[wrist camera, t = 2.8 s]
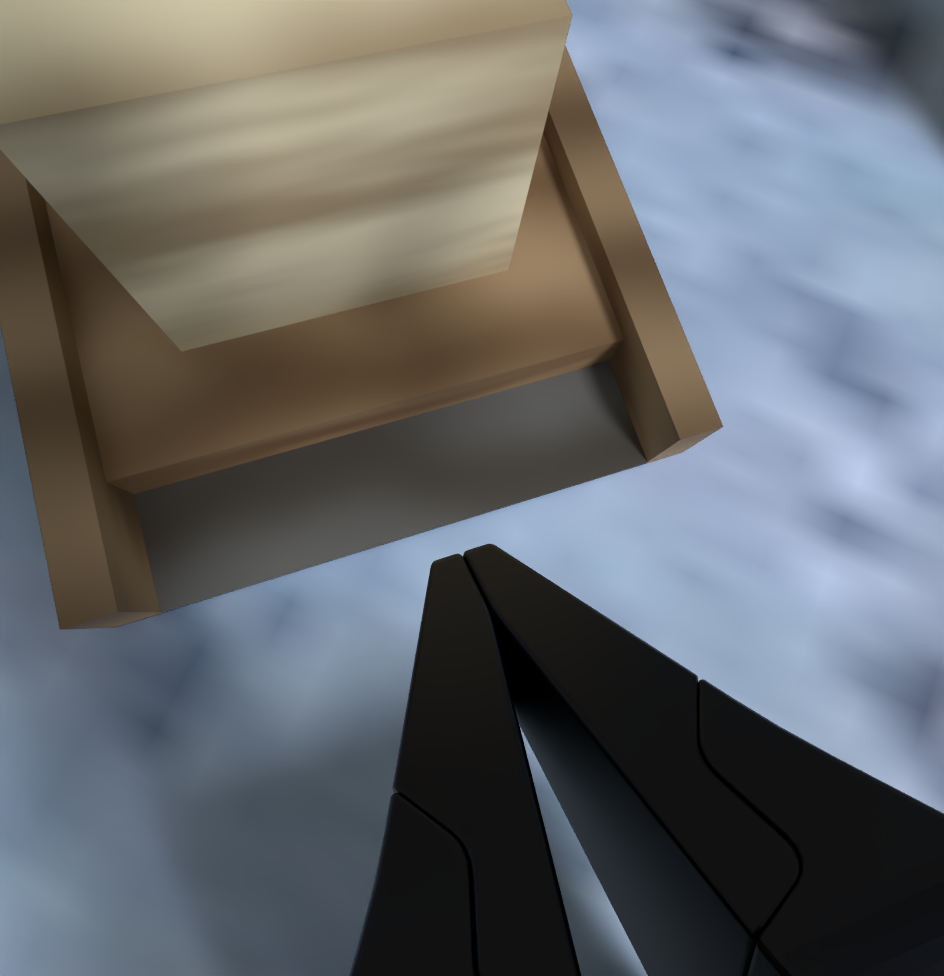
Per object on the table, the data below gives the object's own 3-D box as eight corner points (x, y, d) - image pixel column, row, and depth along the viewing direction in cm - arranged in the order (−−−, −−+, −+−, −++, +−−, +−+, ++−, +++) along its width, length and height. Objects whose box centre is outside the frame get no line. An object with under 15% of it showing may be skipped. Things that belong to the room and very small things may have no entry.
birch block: (508, 269, 21) (572, 14, 12) (181, 351, 19) (-19, 127, 10) (414, 12, 23) (410, -369, 14) (110, 68, 21) (-110, -322, 12)
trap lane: (682, 452, 22) (739, 416, 18) (114, 627, 19) (37, 630, 15) (395, -271, 28) (391, -412, 25) (-64, -219, 26) (-151, -369, 22)
